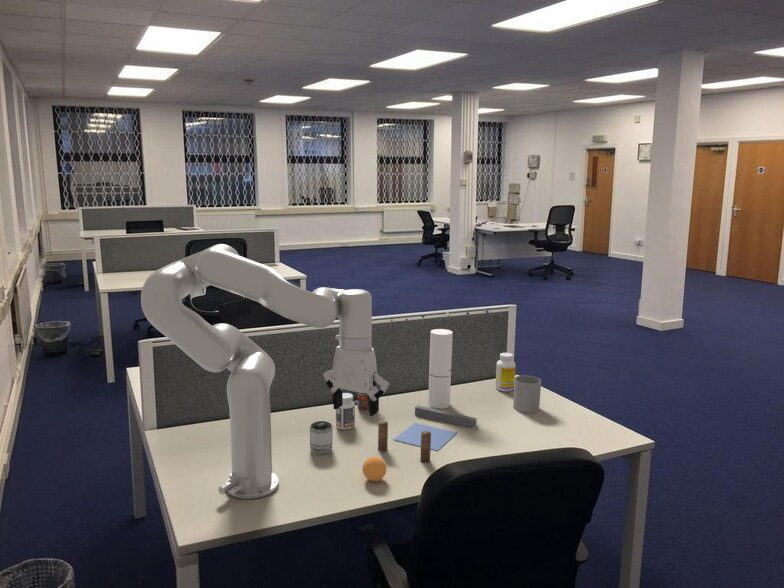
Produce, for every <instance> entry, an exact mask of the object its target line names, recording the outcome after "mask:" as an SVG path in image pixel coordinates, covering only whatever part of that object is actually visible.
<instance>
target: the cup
mask: <svg viewBox="0 0 784 588" xmlns="http://www.w3.org/2000/svg"><path fill="white" fill-rule="evenodd" d="M541 388H542V379H541V378H539V377H537V376H534V375H521V374H520V375H518V376H515V384H514V390H513V403H512V407H513V409H514V410H515V411H516V412H519V413H522V414H535V413H538V412H539V411H540V403H541V391H542V389H541Z"/></svg>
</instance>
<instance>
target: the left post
mask: <svg viewBox="0 0 784 588" xmlns="http://www.w3.org/2000/svg"><path fill="white" fill-rule="evenodd" d="M377 425H378V426H377V428H378V429H377V431H378V434H377V436H378V437H377V438H378V440H377V450H378V452H381V453H385V452H387V451H388V444H389V443H388V439H389V438H388V436H389V434H388V432H389V428H388V427H389V422H388V421H386V420H379V421H378V424H377Z"/></svg>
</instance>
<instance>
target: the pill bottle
mask: <svg viewBox="0 0 784 588" xmlns="http://www.w3.org/2000/svg"><path fill="white" fill-rule="evenodd" d="M342 394H343V405H342V406H341V407H339V408H338V409H335V425H336V426H335V427H337V429H340V430H343V431H344V430H346V431H347V430H351V429H353V428H355V425H356V424H355V423H356V421H355V419H356V414H355V412H356V409H355V407H356V405H355V402H354V401H353V400H354V395H353V394H352V393H350V392H342Z"/></svg>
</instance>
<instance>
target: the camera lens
mask: <svg viewBox="0 0 784 588" xmlns="http://www.w3.org/2000/svg"><path fill="white" fill-rule="evenodd" d="M333 428H334V427H333V424H332V423H330V422H329V421H325V420H320V421H319V420H318V421H315V422H313V423H312V424H310V426H309V449H310V451H311V453H312V454H314V455H319V456H321V455H328V454H329V453H331V452H332V449H333V444H334V443H333V433H334V432H333Z"/></svg>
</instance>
